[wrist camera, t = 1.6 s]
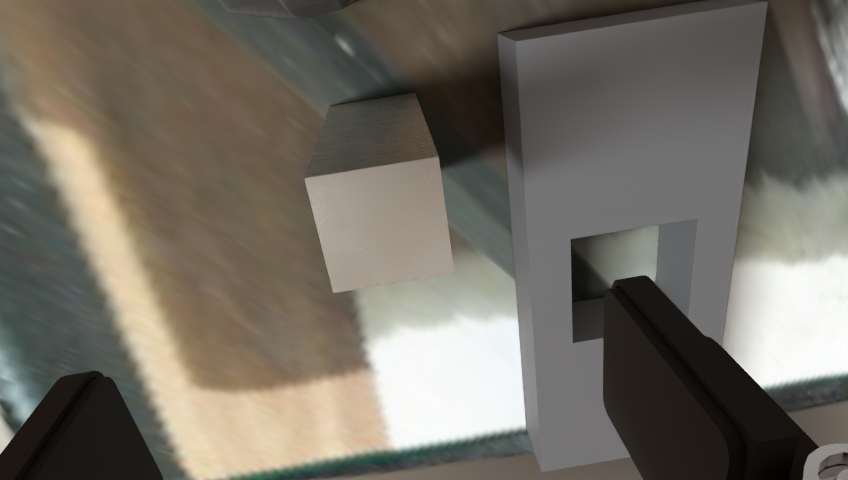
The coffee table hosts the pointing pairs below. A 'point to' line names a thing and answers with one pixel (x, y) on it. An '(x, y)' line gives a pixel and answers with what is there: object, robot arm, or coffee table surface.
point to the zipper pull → (284, 7)
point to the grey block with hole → (621, 186)
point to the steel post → (378, 195)
